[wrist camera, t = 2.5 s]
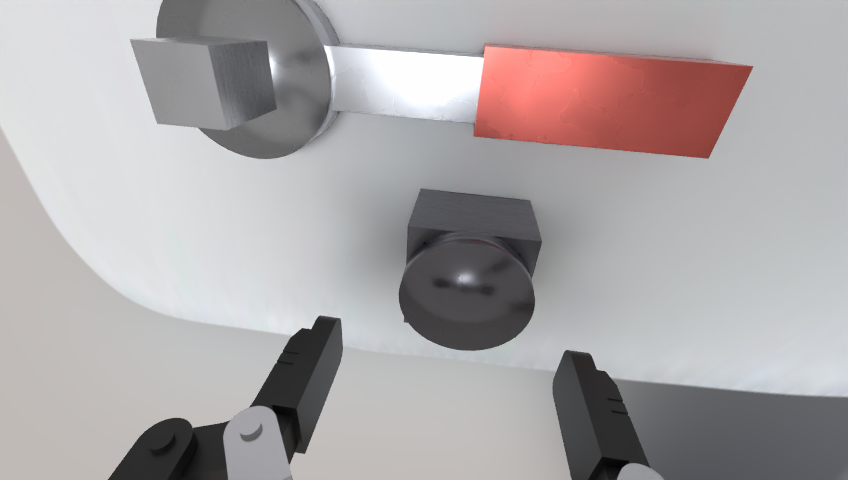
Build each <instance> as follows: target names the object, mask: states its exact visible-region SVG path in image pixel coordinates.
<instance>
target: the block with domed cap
mask: <svg viewBox="0 0 848 480" xmlns="http://www.w3.org/2000/svg"><path fill="white" fill-rule="evenodd" d="M541 243H542V240H541V237H540V233H539V230H538V226H537V223H536V219H535V216H534V213H533V209H532V206H531V202H530V201H528V200H518V199H509V198H500V197H491V196H481V195H472V194H463V193H453V192H444V191H435V190H426V189H421V190H420V193H419V196H418V199H417V201H416V204H415V207H414V210H413V213H412V216H411V219H410V222H409V224H408V238H407V262H406V268H405V271H404V275H403V278H402V281H401V285H400V289H399V303H400V307H401V310H402V313H403V315H404V322H407V323H409V324H410V325H411V326H412V327H413V328H414V329H415V331H417V332H418V333H419V334H420V335H422V336H423V337H425V338H426V339H428V340H430V341H432V342H434V343H436V344H438V345H441V346H444V347H447V348H451V349H457V350H472V351H474V350H484V349H489V348H493V347H496V346H499V345H502V344H504V343H506V342H508V341H510V340H511V339H513V338H514V337H515V338H516V336H517V335H518V334H519V333H520V332H521V331H523V329H524V328H525V327H526V326H527V324H528V323H529V321H530V319H531V317H532V314H533V311H534V306H535V296H534V290H533V285H532V276H533V272H534V269H535V265H536V261H537V258H538V254H539V250H540V247H541Z"/></svg>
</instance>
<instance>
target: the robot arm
mask: <svg viewBox="0 0 848 480" xmlns="http://www.w3.org/2000/svg"><path fill="white" fill-rule="evenodd" d="M342 351H343V344H342V328H341V319H340V318H334V317H326V316H319V317H318V318H317V319H316V321H315V323H314V325H313V327H312V329H304V328H302V329H301V330H299V331H298V332H297V333H296V334H295V335H294V336H292V337H291V338H290V340H289V341H288V343H287V345H286V346H285V348H284V350H283V353H282V354H281V355H280V357H279V359H278V360H277V363H276V364H275V365H274V367H273V369H272V371H271V372H270V374H269V376H268V378H267V379H266V381H265V383H264V384H263V386H262V388H261V390H260V392H259V393H258V395H257V397H256V398H255V400H254V402H253V403H252V405H251V406H250V407H249V408H247V409H245V410H243V411H241V412H239V413H238V414H237V415H236V416H234V417H233V419H231V420H230V421H227V422H224V423H220V424H214V425H208V426H202V427H196V428H192V426H191V424H190V423H189V422H188V421H187V420H185V419H181V418H171V419H167V420H164V421H161V422H159V423H157V424H155V425H154V426H152V427H151V428H149V429H148V430H146V431H145V432H144V433H143V434H142V435H141V436H140V437H139V439H138V440H137V441H136V442H135V444H134V445H133V447H132V448H131V449H130V451H129V452H128V453H127V455H126V456H125V457H124V459H123V460H122V461H121V463H120V464H119V465H118V467H117V468H116V470H115V471H114V472H113V473H112V475H111V476H110V478H109V479H108V480H293V479H292V475H291V471H290V467H289V464H290V462H291V460H292V458H293V455H294V453H295V452H297V453H303V454H305V452H306V450H307V447H308V445H309V442H310V439H311V437H312V434H313V432H314V429H315V426H316V424H317V421H318V419H319V416H320V414H321V411H322V409H323V406H324V403H325V401H326V398H327V395H328V393H329V391H330V388H331V385H332V383H333V380H334V378H335V375H336V372H337V370H338V367H339V365H340V362H341V357H342ZM553 397H554V402H555V406H556V410H557V415H558V420H559V424H560V429H561V433H562V438H563V442H564V447H565V451H566V456H567V460H568V465H569V469H570V474H571V478H572V480H664V479H663V478H662V477H661V476H660V475H659V474H658V473H656V472H655V471H654V470H652V469H651V468H650V466H649V464H648V461H647V459H646V457H645V454H644V452H643V449H642V447H641V444H640V442H639V439H638V437H637V434H636V432H635V429H634V427H633V424H632V422H631V420H630V417H629V416H628V412H627V410H626V407H625V405H624V404H623V402H622V401H623V400H622V397H621V395H620V392H619V390H618V388H617V385H616V384H615V383H614V381H613V380H612V379H611V378H610V377H609V375H608V374H607V373H606V372H605V371H599V370H597V369H596V367H595V364H594V361H593V358H592V356H591V355H590V354H589V353H584V352H577V351H569V350H566V351H565V352H564V354H563V357H562V359H561V362H560V364H559V367H558V369H557V372H556V374H555V377H554V380H553Z"/></svg>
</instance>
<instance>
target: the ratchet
mask: <svg viewBox="0 0 848 480" xmlns="http://www.w3.org/2000/svg"><path fill="white" fill-rule="evenodd" d="M130 41H131V44H132V47H133V50H134V54H135V57H136V60H137V63H138V66H139V69H140V72H141V75H142V78H143V81H144V84H145V87H146V91H147V94H148V97H149V100H150V103H151V106H152V109H153V112H154V115H155V118H156V121H157V124H167V125H177V126H187V127H197V128H199V129H200V130H201V131H202V132H203V133H204V134H206V135H207V136H208V137H209V138H210V139H212V140H213V141H215V142H216V143H218V144H219V145H221V146H223V147H225V148H226V149H228V150H230V151H233V152H235V153H238V154H241V155H244V156H247V157H252V158H258V159H272V158H279V157H283V156H286V155H289V154H291V153H293V152H295V151H297V150H298V149H300V148H301V147H303V146H304V145H306V144H307V143H309V142H310V141H311V140H313V139H314V138H316V137H317V136H319V135H320V134H321V133H323V132H324V131H325V130H326V129H327V128H328V127H329V126H330V125H331V124H332V123H333V121H334V120H335V119H336V117H337V115H338V113H339V111H346V112H357V113H368V114H379V115H390V116H401V117H412V118H423V119H434V120H445V121H455V122H466V123H474V136H476V137H486V138H497V139H507V140H518V141H528V142H539V143H550V144H560V145H571V146H581V147H592V148H602V149H613V150H624V151H634V152H645V153H655V154H666V155H676V156H687V157H698V158H709V156H710V154H711V152H712V150H713V148H714V146H715V144H716V142H717V140H718V138H719V136H720V134H721V132H722V130H723V128H724V125H725V123H726V121H727V119H728V117H729V115H730V113H731V111H732V109H733V107H734V105H735V103H736V101H737V99H738V97H739V95H740V93H741V91H742V89H743V87H744V85H745V83H746V81H747V79H748V77H749V74H750V72H751V70H752V68H753V66H747V65H740V64H734V63H728V62H721V61H715V60H704V59H690V58H676V57H663V56H649V55H636V54H622V53H609V52H595V51H581V50H568V49H554V48H541V47H527V46H514V45H500V44H487V43H485V44H484V51H483V54H475V53H462V52H448V51H435V50H422V49H409V48H396V47H383V46H370V45H357V44H343V43H340V42H339V39H338V37H337V35H336V32H335V30H334V28H333V26H332V25H331V23H330V21H329V20H328V18H327V17H326V15H325V14H324V13H323V11H322V10H321V9H320V7H319V6H318V5H317V4H316V3H315V2H314V1H313V0H163V2H162V4H161V7H160V11H159V14H158V19H157V28H156V38H150V39H130Z"/></svg>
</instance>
